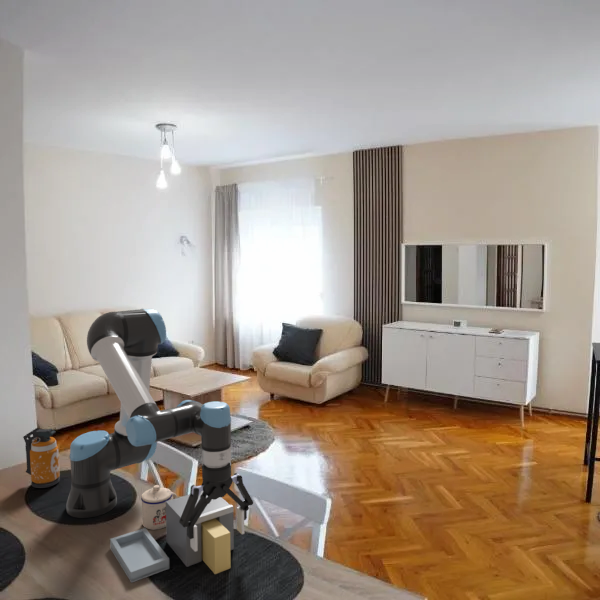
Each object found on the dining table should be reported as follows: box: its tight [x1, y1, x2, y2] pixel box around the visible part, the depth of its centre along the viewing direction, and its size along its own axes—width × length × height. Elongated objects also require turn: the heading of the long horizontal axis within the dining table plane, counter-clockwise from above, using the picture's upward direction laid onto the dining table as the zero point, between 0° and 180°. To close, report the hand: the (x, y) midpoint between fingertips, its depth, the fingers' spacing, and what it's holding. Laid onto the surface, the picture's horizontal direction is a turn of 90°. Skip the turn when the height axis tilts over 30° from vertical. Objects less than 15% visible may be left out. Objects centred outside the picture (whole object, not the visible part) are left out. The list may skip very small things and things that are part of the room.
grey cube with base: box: [165, 491, 235, 567], centre depth 147 cm, size 14×14×13 cm
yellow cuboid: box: [201, 518, 232, 575], centre depth 141 cm, size 12×4×10 cm, turn 36°
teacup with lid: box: [140, 484, 178, 531], centre depth 160 cm, size 12×9×12 cm
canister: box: [22, 427, 61, 489], centre depth 183 cm, size 9×11×20 cm
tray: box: [109, 527, 170, 583], centre depth 142 cm, size 18×10×3 cm, turn 36°
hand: (218, 540), depth 138 cm, fingers open, 13 cm apart
